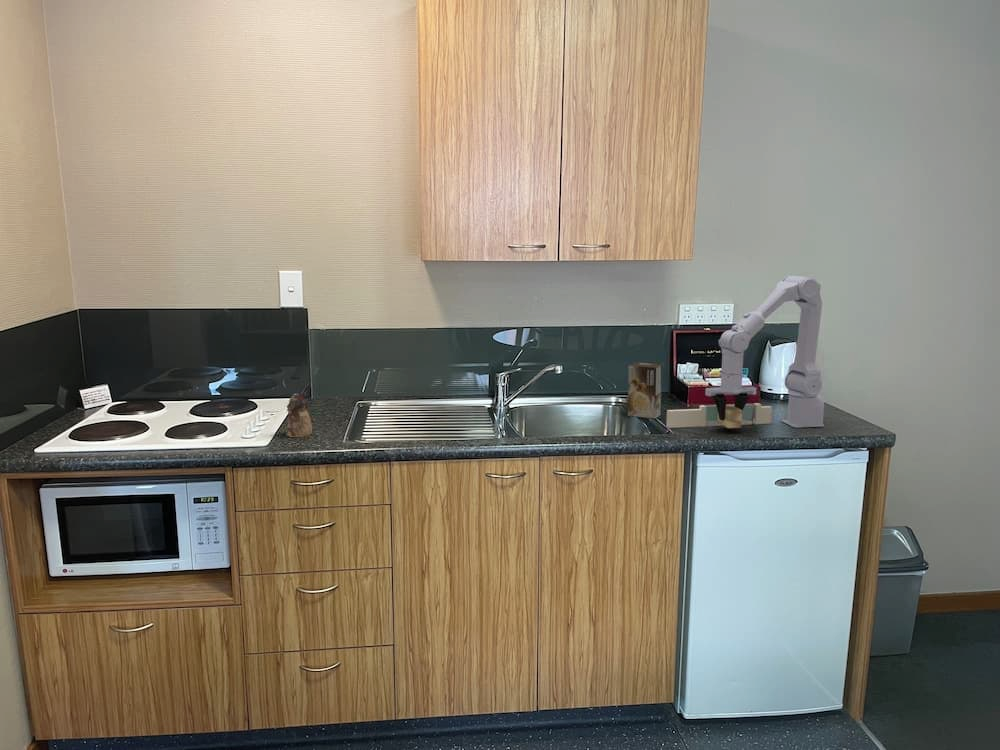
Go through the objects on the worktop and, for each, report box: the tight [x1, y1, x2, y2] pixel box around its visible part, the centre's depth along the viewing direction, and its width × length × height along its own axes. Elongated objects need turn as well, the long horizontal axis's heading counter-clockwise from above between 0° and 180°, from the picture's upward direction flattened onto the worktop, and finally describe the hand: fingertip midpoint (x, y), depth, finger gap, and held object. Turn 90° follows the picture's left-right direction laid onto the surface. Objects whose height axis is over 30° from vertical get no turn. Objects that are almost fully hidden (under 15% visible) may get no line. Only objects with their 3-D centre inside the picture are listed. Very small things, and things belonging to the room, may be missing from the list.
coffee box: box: [627, 362, 663, 419], centre depth 241 cm, size 9×6×16 cm
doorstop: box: [717, 404, 742, 429], centre depth 223 cm, size 4×7×5 cm, turn 8°
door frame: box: [666, 402, 773, 429], centre depth 230 cm, size 32×2×6 cm, turn 98°
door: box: [705, 403, 755, 422], centre depth 230 cm, size 15×1×4 cm, turn 98°
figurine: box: [286, 392, 313, 438], centre depth 221 cm, size 7×7×12 cm
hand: (729, 419), depth 223 cm, fingers closed on doorstop, 4 cm apart
